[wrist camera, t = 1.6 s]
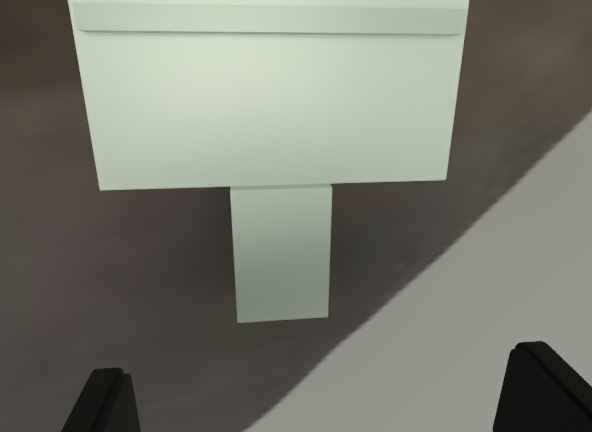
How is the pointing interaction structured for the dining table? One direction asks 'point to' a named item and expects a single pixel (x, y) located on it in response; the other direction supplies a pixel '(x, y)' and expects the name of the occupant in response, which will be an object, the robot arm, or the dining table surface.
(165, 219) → the dining table surface
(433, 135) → the lid
